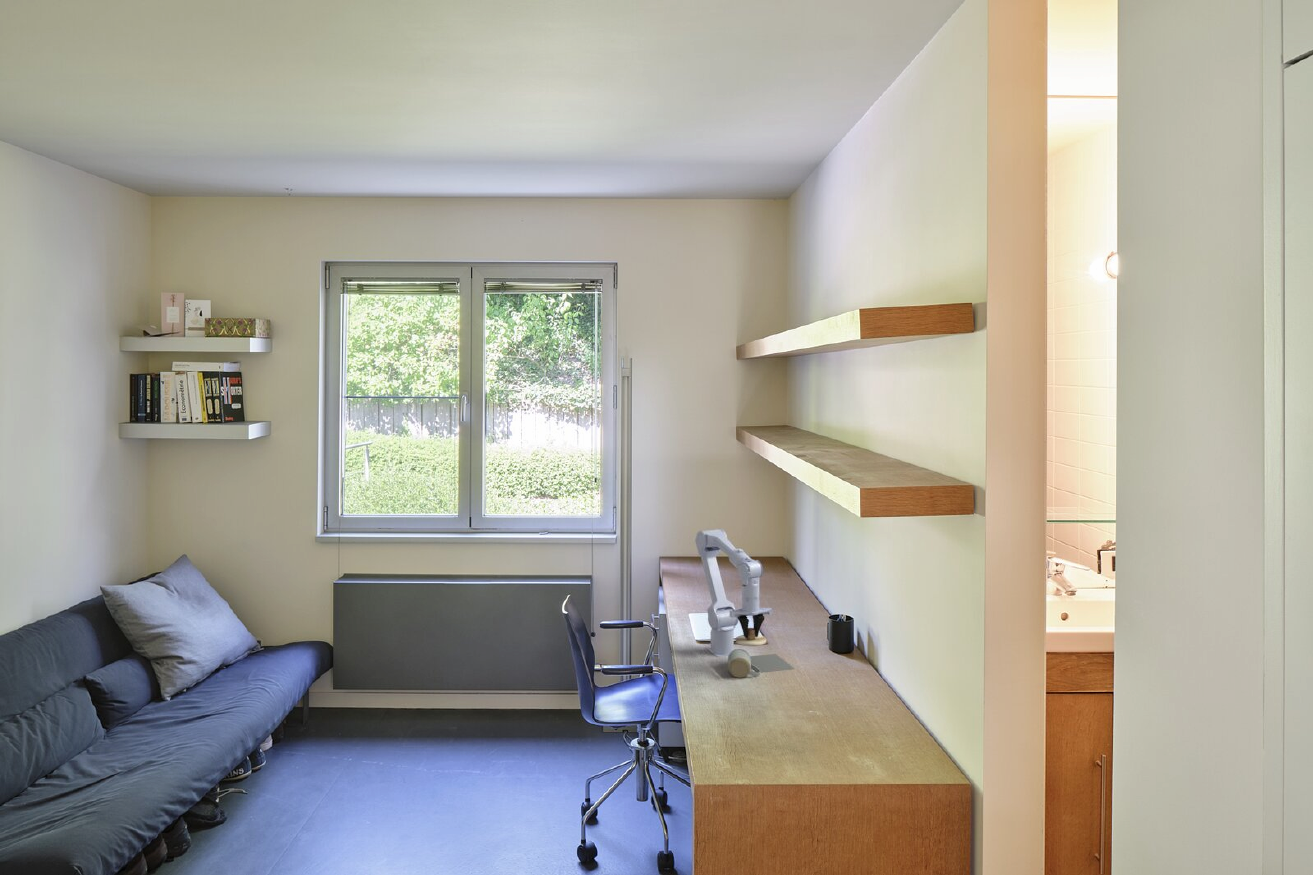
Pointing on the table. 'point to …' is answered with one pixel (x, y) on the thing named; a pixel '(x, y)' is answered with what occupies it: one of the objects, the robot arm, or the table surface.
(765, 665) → the mat
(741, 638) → the lid
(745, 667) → the ceramic mug
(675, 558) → the table surface
